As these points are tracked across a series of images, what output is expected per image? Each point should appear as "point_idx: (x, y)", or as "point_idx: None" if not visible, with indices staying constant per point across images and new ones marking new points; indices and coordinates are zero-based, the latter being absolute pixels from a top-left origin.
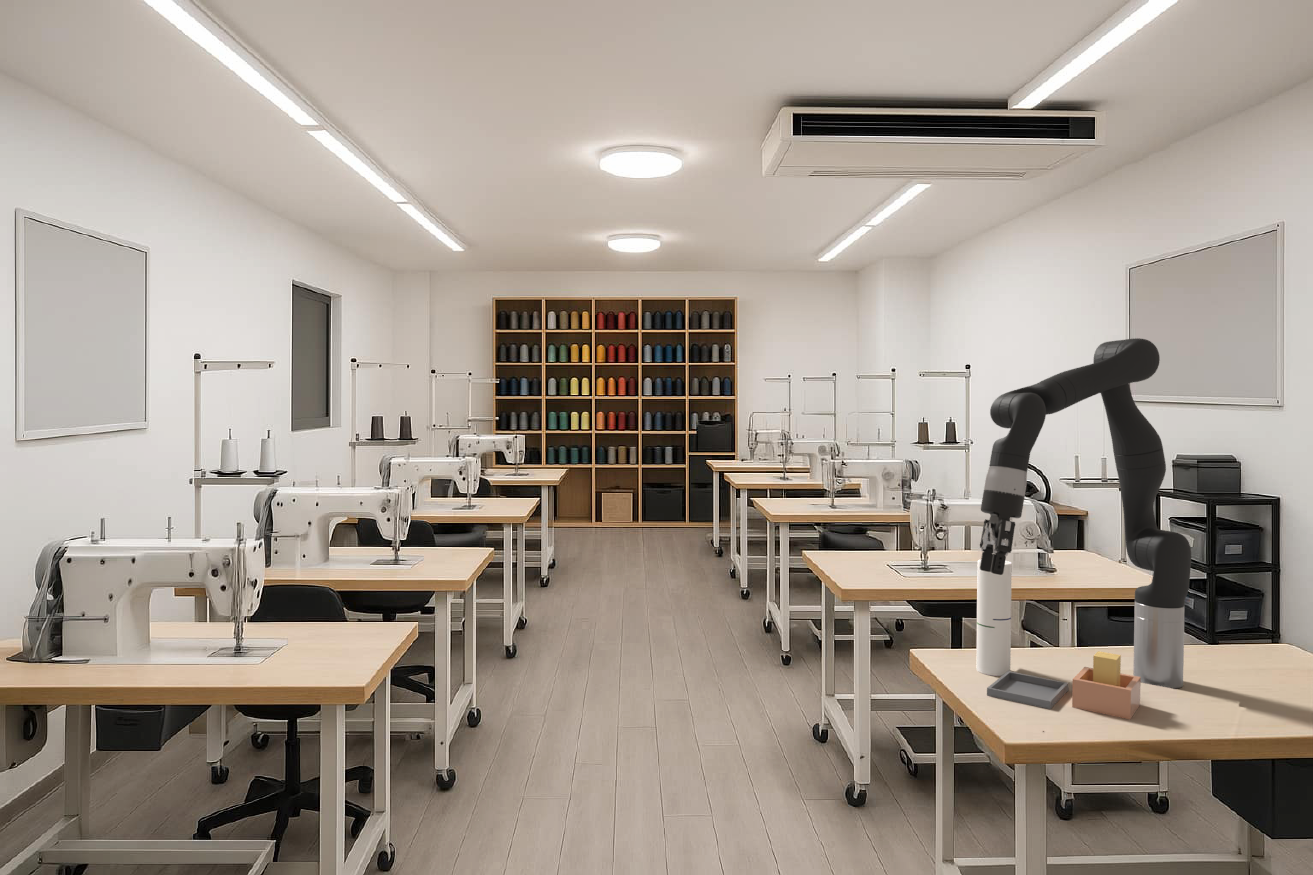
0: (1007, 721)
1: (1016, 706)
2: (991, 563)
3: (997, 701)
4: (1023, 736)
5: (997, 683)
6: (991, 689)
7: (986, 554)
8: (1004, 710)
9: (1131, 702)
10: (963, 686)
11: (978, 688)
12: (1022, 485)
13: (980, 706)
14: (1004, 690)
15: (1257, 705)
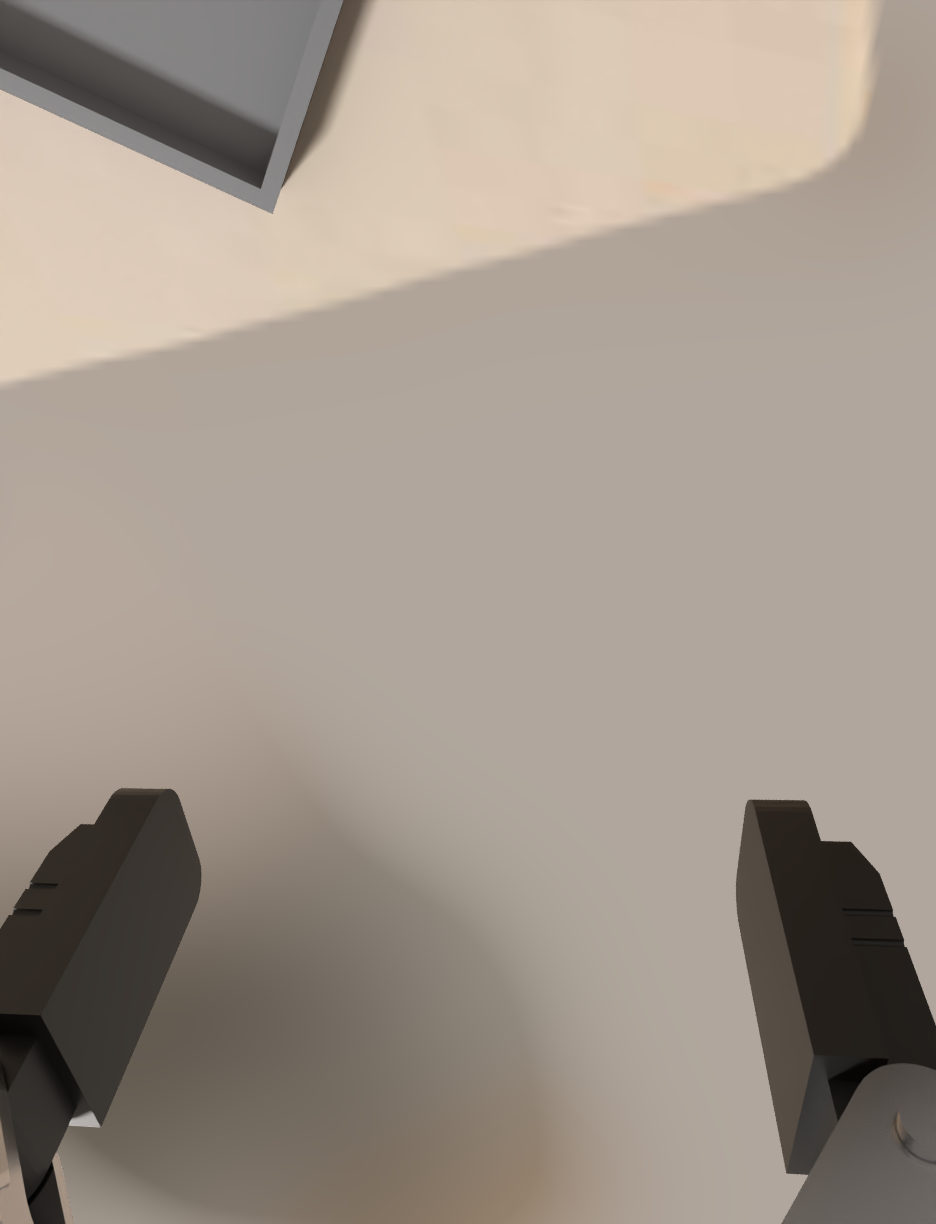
0: (592, 123)
1: None
2: (121, 886)
3: None
4: (798, 71)
5: (136, 128)
6: (280, 187)
7: (95, 1064)
8: (423, 111)
9: None
10: (95, 290)
11: (88, 210)
12: None
13: (395, 238)
14: (138, 70)
15: None
